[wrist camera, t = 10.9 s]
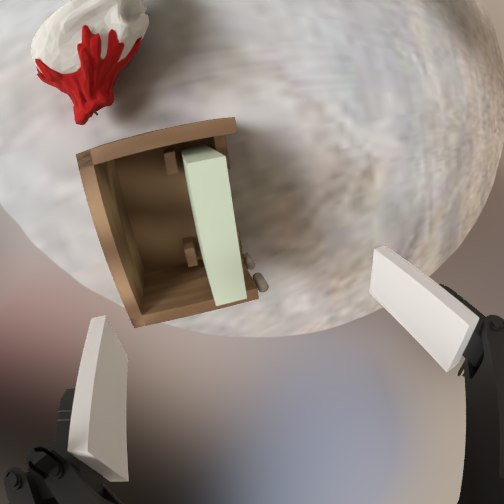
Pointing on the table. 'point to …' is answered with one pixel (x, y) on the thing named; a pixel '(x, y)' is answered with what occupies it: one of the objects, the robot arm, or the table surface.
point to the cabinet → (155, 221)
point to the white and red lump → (88, 49)
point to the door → (214, 221)
